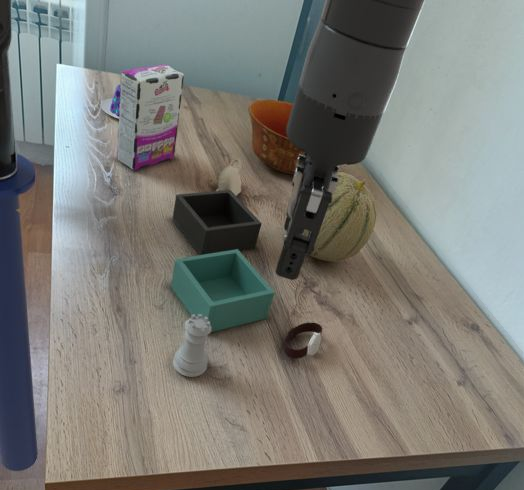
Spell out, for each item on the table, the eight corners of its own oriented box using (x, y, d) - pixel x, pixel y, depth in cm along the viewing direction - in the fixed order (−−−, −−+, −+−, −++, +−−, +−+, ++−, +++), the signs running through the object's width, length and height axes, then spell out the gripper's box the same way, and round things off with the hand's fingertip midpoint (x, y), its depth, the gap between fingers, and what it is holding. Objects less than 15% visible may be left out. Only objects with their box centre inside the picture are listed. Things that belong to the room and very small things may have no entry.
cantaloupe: (269, 227, 99) (291, 149, 88) (338, 230, 104) (367, 157, 94) (296, 278, 89) (324, 198, 79) (371, 278, 95) (406, 203, 85)
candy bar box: (156, 148, 110) (166, 63, 98) (174, 159, 108) (186, 74, 97) (114, 159, 102) (119, 69, 91) (133, 172, 101) (140, 81, 89)
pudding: (138, 99, 124) (140, 76, 121) (166, 123, 119) (169, 99, 115) (90, 102, 117) (90, 76, 114) (117, 127, 112) (119, 102, 108)
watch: (301, 369, 74) (309, 350, 72) (273, 351, 75) (280, 332, 73) (326, 342, 80) (334, 324, 77) (299, 325, 81) (306, 307, 78)
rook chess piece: (196, 350, 72) (206, 305, 66) (212, 373, 70) (224, 328, 64) (166, 358, 69) (174, 312, 64) (182, 383, 67) (192, 337, 62)
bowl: (290, 138, 130) (302, 96, 123) (349, 183, 120) (365, 141, 113) (220, 144, 118) (229, 98, 111) (278, 195, 108) (292, 148, 101)
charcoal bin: (200, 257, 87) (206, 230, 83) (172, 220, 92) (175, 194, 89) (254, 248, 92) (262, 223, 89) (224, 214, 98) (230, 189, 94)
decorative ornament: (209, 197, 101) (214, 170, 97) (226, 180, 107) (232, 155, 103) (229, 205, 101) (235, 179, 97) (245, 188, 107) (251, 163, 103)
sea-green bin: (204, 334, 74) (210, 306, 71) (170, 286, 80) (175, 258, 76) (266, 318, 80) (275, 292, 77) (231, 275, 85) (237, 248, 82)
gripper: (305, 54, 49) (263, 209, 60) (293, 107, 39) (244, 282, 50) (383, 79, 50) (326, 227, 61) (391, 137, 39) (321, 304, 50)
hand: (289, 252), depth 55 cm, fingers open, 8 cm apart
